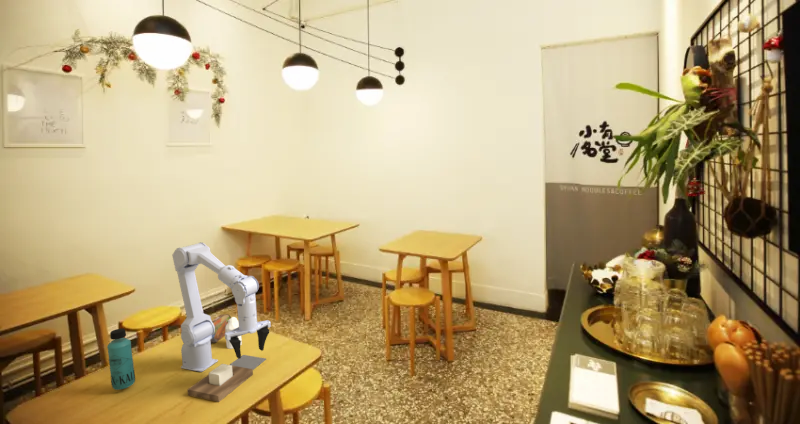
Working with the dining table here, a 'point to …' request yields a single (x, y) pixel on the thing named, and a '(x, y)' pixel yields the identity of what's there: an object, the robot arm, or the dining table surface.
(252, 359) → the mat
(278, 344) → the dining table surface
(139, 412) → the dining table surface
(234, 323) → the roll
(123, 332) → the beverage bottle
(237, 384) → the block
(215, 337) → the tin
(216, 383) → the plug
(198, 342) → the robot arm
